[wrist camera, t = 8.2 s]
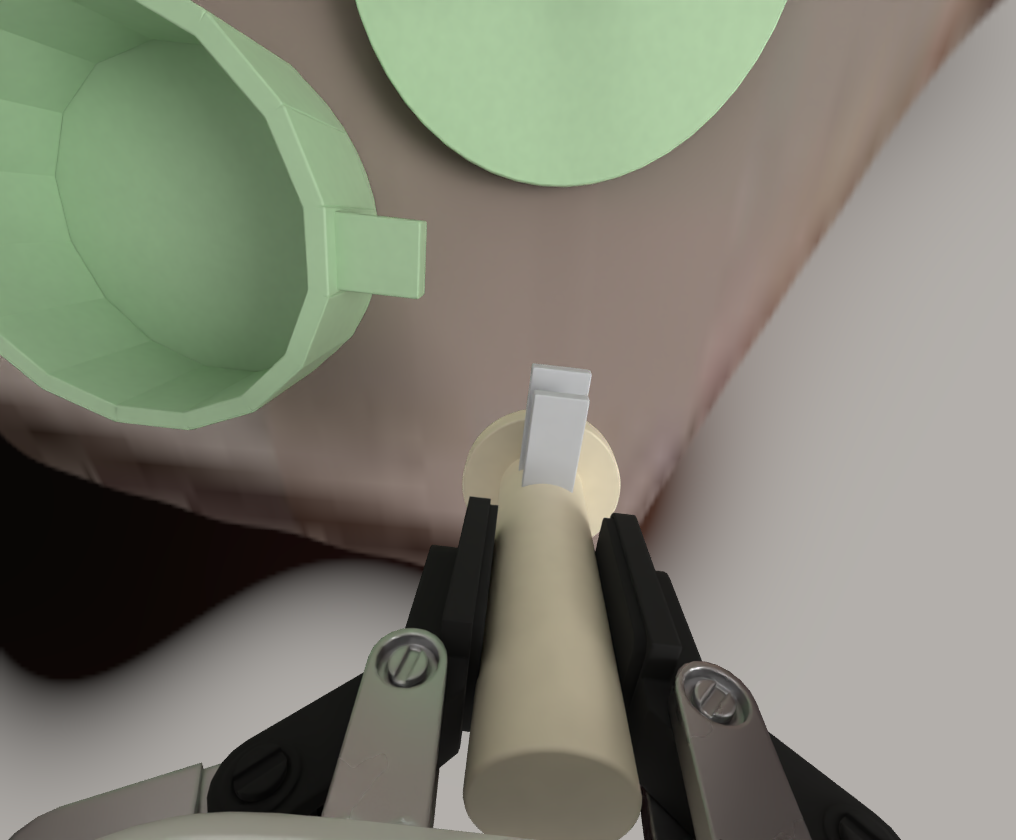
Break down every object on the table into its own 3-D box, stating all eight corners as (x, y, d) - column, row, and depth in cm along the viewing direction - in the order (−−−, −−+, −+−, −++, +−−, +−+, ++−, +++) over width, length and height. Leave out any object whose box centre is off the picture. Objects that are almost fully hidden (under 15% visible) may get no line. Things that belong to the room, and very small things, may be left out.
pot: (-68, -6, 17) (-328, -104, 12) (454, 55, 17) (421, -17, 12) (40, 356, 22) (-106, 397, 17) (437, 402, 22) (409, 456, 17)
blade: (475, 344, 14) (378, 553, 5) (643, 364, 14) (835, 607, 5) (457, 568, 17) (380, 929, 8) (592, 584, 17) (656, 961, 8)
